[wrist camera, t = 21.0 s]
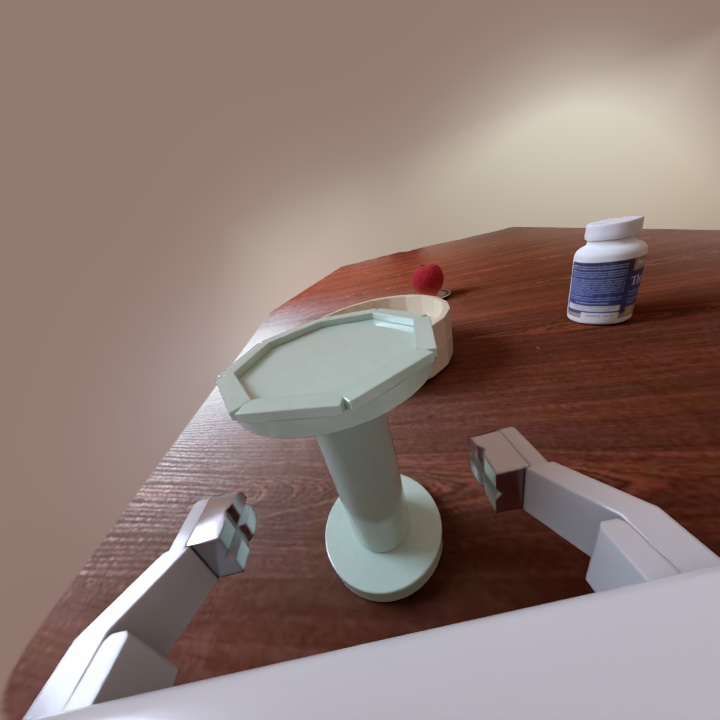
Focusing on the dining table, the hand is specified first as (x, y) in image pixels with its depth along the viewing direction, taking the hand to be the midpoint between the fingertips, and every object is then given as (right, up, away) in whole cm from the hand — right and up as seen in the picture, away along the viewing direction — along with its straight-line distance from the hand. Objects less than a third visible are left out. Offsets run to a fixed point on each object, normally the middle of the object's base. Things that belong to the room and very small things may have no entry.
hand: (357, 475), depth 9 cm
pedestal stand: (+1, -5, +4) cm, 7 cm away
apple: (+14, +16, +41) cm, 46 cm away
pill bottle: (+27, +9, +20) cm, 34 cm away
